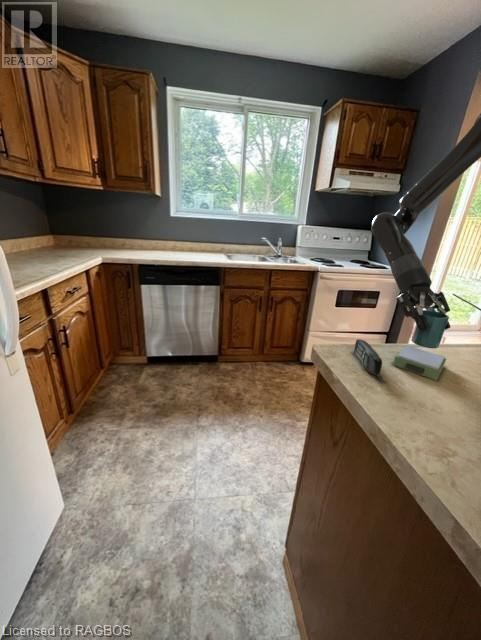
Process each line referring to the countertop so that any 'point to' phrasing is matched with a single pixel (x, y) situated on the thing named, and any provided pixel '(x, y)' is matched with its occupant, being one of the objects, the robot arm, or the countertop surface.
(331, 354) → the countertop surface
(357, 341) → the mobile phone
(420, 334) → the teal cup
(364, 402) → the countertop surface
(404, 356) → the kitchen scale
